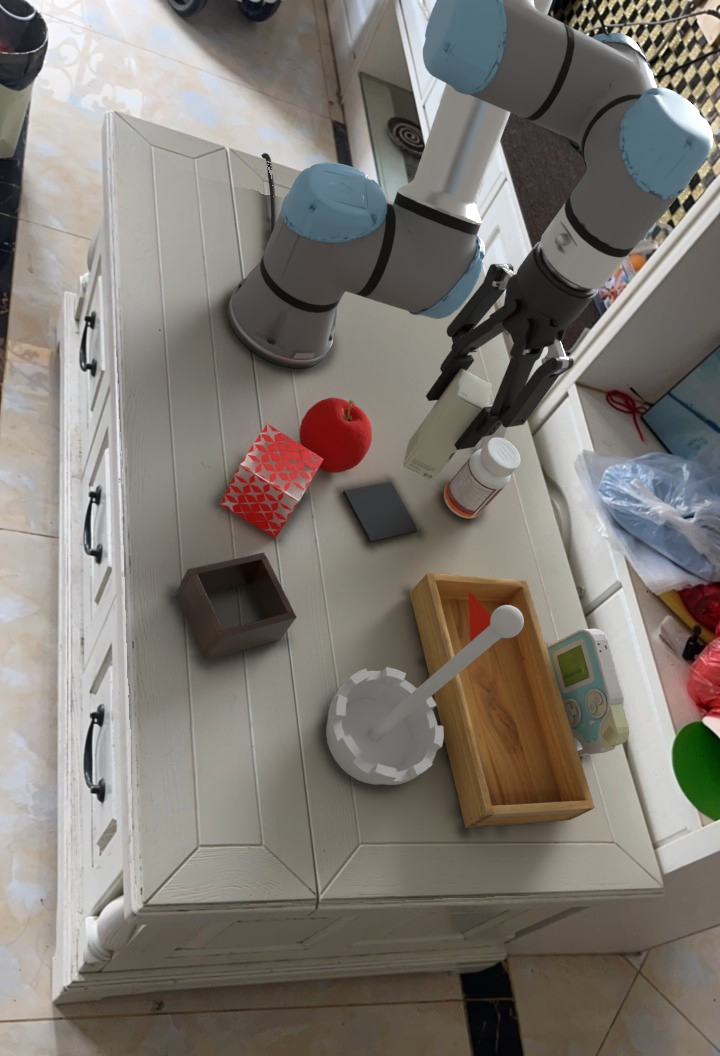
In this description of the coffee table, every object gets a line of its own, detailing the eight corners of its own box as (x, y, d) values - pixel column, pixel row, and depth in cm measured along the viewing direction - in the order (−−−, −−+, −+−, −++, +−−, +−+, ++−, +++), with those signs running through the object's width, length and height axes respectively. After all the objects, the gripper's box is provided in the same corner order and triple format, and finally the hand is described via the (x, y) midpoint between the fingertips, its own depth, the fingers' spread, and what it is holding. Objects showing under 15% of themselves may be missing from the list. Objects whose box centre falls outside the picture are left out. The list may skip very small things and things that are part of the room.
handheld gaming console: (560, 763, 113) (532, 652, 116) (577, 761, 114) (548, 651, 118) (620, 744, 103) (587, 624, 107) (637, 742, 105) (604, 623, 108)
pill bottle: (470, 483, 127) (514, 433, 118) (485, 519, 125) (531, 471, 116) (435, 484, 124) (477, 433, 115) (450, 521, 121) (494, 471, 112)
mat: (342, 492, 115) (344, 490, 115) (389, 483, 120) (391, 481, 119) (369, 543, 113) (371, 541, 113) (416, 532, 118) (418, 530, 117)
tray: (407, 593, 112) (428, 570, 108) (505, 600, 119) (528, 578, 114) (460, 830, 99) (486, 815, 95) (566, 822, 106) (595, 808, 102)
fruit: (363, 454, 120) (396, 406, 112) (340, 495, 115) (372, 448, 107) (306, 416, 119) (335, 365, 111) (279, 457, 114) (307, 406, 106)
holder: (174, 594, 98) (187, 569, 93) (249, 576, 103) (264, 551, 99) (205, 661, 96) (219, 638, 91) (280, 639, 101) (297, 617, 97)
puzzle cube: (246, 463, 111) (267, 423, 104) (300, 496, 112) (323, 459, 106) (219, 504, 106) (239, 464, 100) (275, 538, 107) (298, 501, 101)
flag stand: (434, 785, 101) (599, 677, 77) (333, 800, 94) (478, 687, 71) (404, 682, 106) (549, 549, 82) (305, 690, 99) (432, 549, 75)
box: (432, 483, 107) (489, 415, 96) (400, 467, 105) (454, 396, 95) (439, 453, 109) (494, 383, 99) (408, 437, 108) (461, 365, 98)
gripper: (492, 188, 84) (387, 358, 102) (596, 345, 79) (465, 494, 97) (546, 191, 88) (435, 354, 106) (647, 340, 83) (513, 484, 101)
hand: (450, 421), depth 102 cm, fingers closed on box, 6 cm apart
